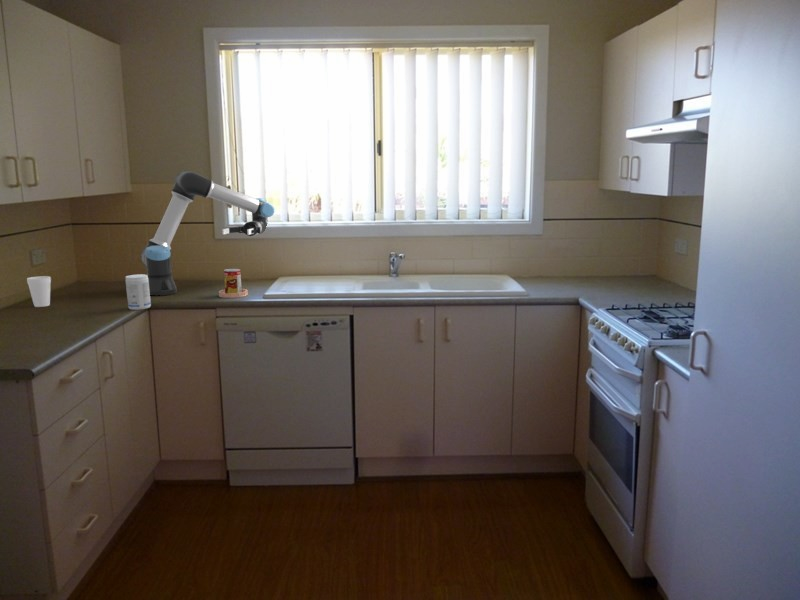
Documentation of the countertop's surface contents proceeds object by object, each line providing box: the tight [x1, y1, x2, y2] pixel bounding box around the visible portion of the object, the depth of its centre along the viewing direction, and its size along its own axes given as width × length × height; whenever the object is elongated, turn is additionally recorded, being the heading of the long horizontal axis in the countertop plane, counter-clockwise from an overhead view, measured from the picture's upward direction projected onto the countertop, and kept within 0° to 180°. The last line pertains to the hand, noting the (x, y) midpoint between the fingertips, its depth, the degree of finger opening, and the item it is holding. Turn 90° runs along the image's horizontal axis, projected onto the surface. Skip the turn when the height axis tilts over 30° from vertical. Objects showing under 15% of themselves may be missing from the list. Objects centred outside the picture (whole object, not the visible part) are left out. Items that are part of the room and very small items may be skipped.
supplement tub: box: [124, 273, 152, 311], centre depth 293 cm, size 10×10×15 cm
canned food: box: [223, 268, 242, 293], centre depth 321 cm, size 8×8×12 cm
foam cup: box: [26, 275, 52, 308], centre depth 301 cm, size 10×9×13 cm
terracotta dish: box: [218, 288, 249, 299], centre depth 322 cm, size 14×14×2 cm
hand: (235, 232), depth 331 cm, fingers open, 13 cm apart
